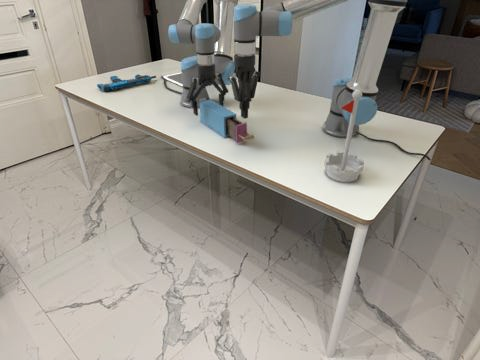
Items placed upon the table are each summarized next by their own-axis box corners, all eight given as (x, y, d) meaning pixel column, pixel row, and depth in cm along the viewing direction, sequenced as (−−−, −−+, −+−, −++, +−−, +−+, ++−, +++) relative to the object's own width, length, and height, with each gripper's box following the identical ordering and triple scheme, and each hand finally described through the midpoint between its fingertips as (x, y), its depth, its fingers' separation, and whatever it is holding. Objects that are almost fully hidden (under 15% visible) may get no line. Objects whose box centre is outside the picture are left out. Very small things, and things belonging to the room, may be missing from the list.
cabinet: (236, 134, 147) (236, 114, 142) (224, 137, 144) (223, 117, 139) (211, 118, 162) (211, 99, 157) (200, 121, 159) (199, 102, 154)
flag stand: (346, 161, 127) (361, 81, 110) (369, 179, 117) (390, 94, 100) (316, 168, 123) (327, 86, 106) (337, 186, 113) (353, 99, 96)
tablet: (160, 77, 217) (160, 76, 217) (187, 71, 229) (187, 71, 228) (188, 89, 197) (188, 88, 197) (215, 82, 208) (215, 81, 208)
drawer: (254, 145, 137) (254, 128, 132) (244, 148, 134) (244, 131, 130) (221, 123, 154) (221, 108, 150) (212, 126, 152) (211, 110, 148)
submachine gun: (141, 69, 223) (160, 75, 207) (142, 74, 225) (161, 81, 209) (89, 79, 205) (105, 87, 188) (91, 85, 207) (107, 93, 190)
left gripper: (226, 57, 152) (227, 103, 164) (175, 66, 141) (180, 114, 152) (235, 61, 147) (235, 108, 159) (183, 70, 135) (188, 120, 147)
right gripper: (253, 49, 125) (252, 110, 138) (223, 54, 119) (225, 117, 131) (266, 53, 119) (263, 116, 132) (235, 58, 113) (235, 124, 126)
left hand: (208, 111), depth 156 cm, fingers open, 13 cm apart
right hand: (244, 117), depth 132 cm, fingers closed
